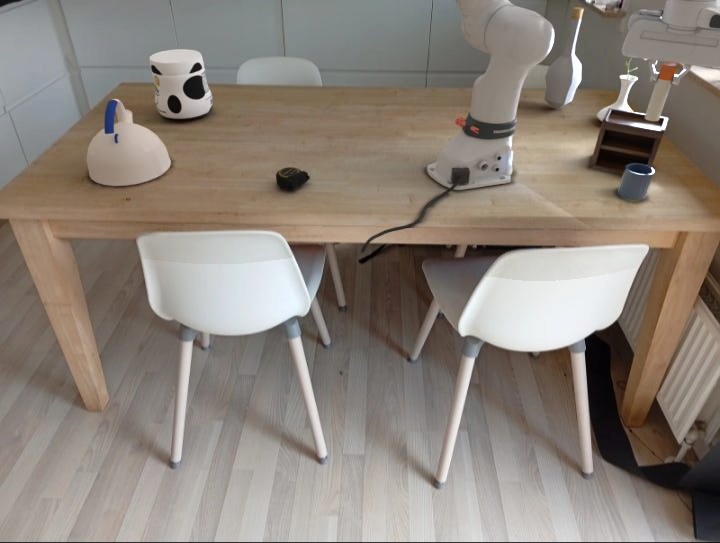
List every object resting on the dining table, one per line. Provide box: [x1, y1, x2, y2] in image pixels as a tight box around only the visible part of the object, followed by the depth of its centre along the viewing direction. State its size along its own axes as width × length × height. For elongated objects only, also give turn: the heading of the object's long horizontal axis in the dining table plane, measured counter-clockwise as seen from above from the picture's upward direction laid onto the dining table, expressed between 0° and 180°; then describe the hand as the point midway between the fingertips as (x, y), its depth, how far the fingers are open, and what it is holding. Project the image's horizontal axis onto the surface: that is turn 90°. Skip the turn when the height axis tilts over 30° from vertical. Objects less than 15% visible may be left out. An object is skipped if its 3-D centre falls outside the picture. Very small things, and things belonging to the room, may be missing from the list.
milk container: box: [148, 48, 214, 121], centre depth 166 cm, size 17×17×18 cm
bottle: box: [544, 6, 585, 110], centre depth 166 cm, size 11×11×30 cm
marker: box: [644, 61, 679, 121], centre depth 117 cm, size 3×3×12 cm
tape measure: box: [275, 166, 310, 191], centre depth 132 cm, size 7×7×4 cm
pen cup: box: [617, 163, 656, 201], centre depth 127 cm, size 6×6×7 cm
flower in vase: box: [596, 57, 648, 122], centre depth 159 cm, size 13×11×25 cm
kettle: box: [86, 98, 172, 187], centre depth 135 cm, size 20×21×18 cm
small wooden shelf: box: [589, 108, 669, 174], centre depth 137 cm, size 9×14×13 cm, turn 61°
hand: (663, 82), depth 116 cm, fingers closed on marker, 3 cm apart
